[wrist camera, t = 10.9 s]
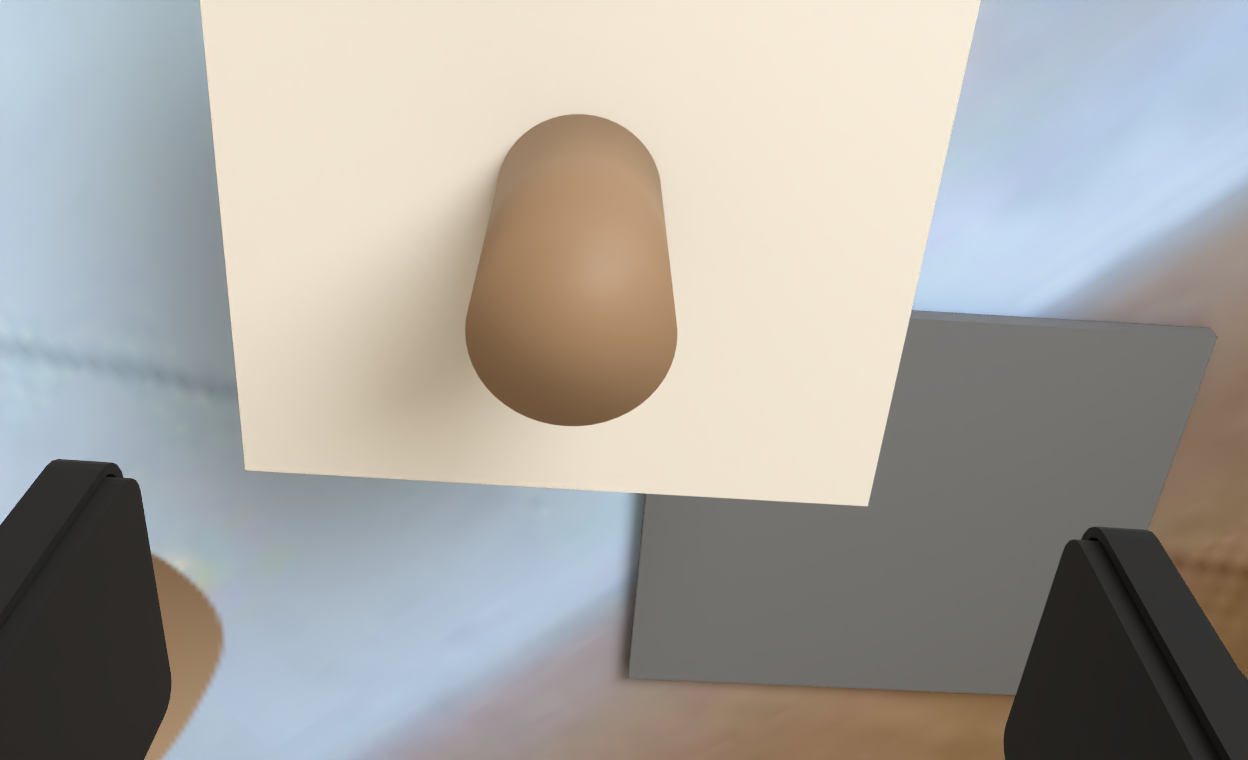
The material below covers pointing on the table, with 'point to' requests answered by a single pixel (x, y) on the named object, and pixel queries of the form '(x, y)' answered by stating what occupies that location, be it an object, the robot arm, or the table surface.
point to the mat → (927, 516)
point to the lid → (578, 235)
